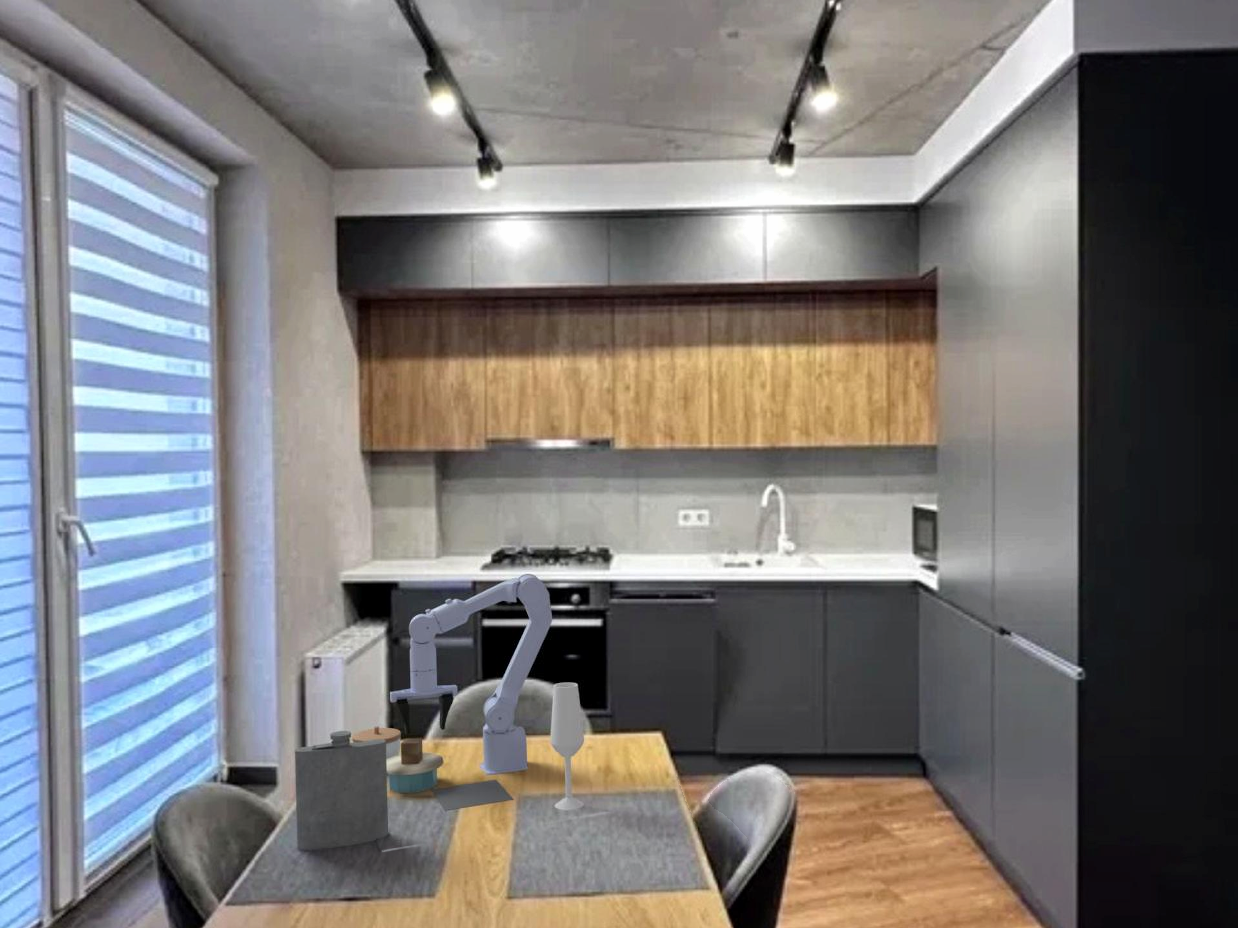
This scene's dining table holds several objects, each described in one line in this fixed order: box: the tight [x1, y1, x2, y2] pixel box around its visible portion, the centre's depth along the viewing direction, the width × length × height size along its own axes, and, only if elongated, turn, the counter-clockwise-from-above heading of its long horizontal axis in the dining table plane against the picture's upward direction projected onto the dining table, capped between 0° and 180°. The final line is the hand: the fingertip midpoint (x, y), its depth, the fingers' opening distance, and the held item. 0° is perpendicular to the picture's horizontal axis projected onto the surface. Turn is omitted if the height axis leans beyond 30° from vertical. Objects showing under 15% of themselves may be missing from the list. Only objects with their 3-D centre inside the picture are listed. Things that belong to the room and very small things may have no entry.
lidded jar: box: [351, 725, 402, 759], centre depth 216 cm, size 11×11×9 cm
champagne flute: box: [549, 682, 585, 811], centre depth 187 cm, size 7×7×24 cm
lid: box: [386, 738, 444, 775], centre depth 203 cm, size 13×13×5 cm
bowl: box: [387, 768, 438, 794], centre depth 203 cm, size 10×10×4 cm
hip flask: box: [294, 730, 389, 851], centre depth 172 cm, size 16×4×20 cm, turn 107°
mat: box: [430, 779, 515, 812], centre depth 195 cm, size 14×14×1 cm
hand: (425, 730), depth 210 cm, fingers open, 7 cm apart
